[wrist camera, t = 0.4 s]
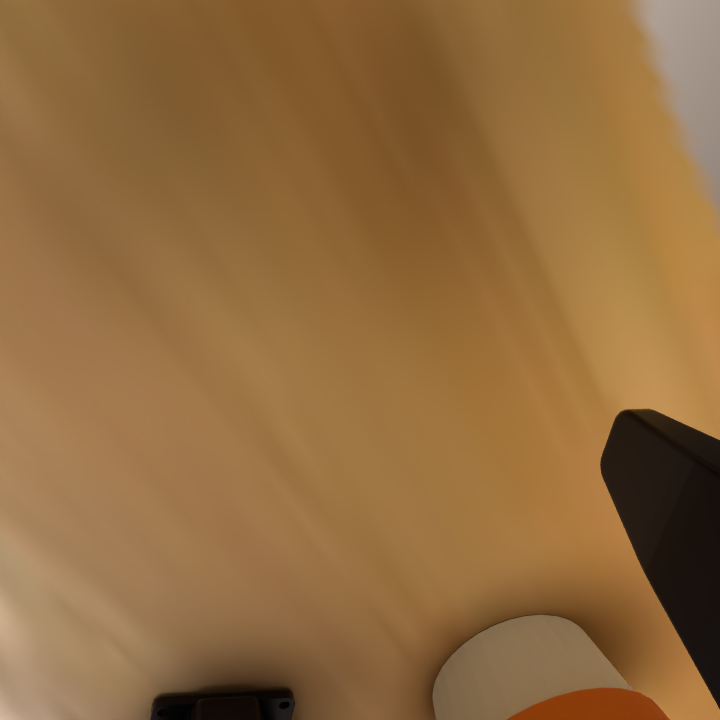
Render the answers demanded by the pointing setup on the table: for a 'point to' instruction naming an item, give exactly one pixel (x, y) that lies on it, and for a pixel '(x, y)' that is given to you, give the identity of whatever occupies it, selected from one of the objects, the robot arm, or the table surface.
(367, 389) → the table surface
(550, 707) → the reusable coffee cup
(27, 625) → the table surface
